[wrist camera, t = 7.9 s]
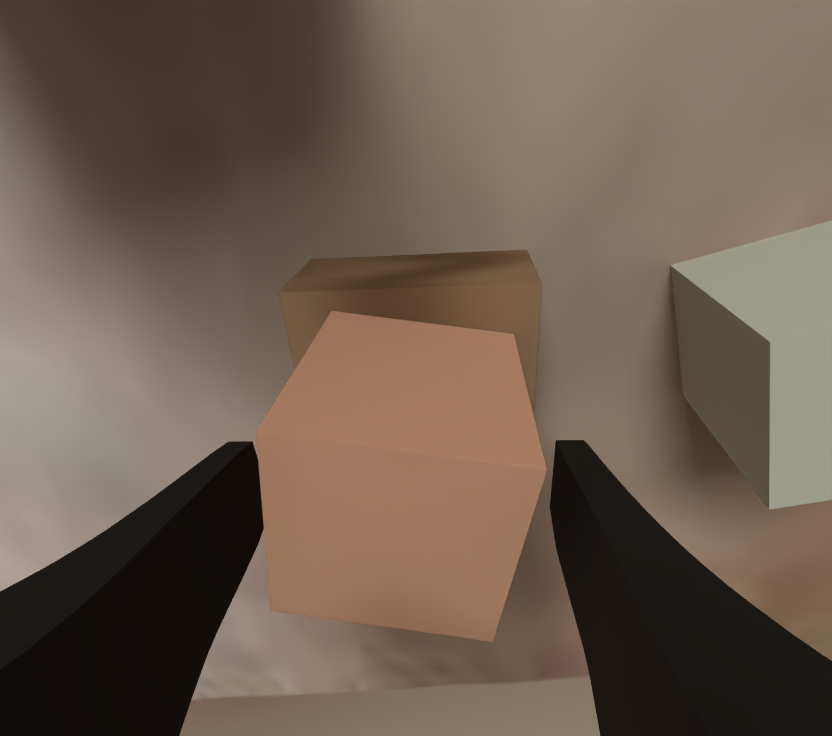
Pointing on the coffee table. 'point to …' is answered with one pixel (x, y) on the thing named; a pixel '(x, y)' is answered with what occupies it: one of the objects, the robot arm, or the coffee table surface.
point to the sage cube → (763, 359)
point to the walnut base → (421, 296)
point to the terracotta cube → (400, 476)
